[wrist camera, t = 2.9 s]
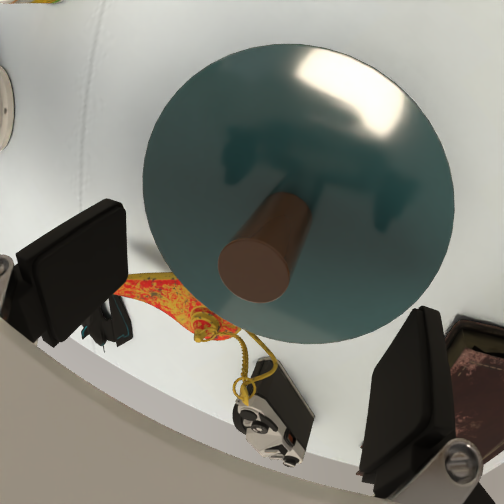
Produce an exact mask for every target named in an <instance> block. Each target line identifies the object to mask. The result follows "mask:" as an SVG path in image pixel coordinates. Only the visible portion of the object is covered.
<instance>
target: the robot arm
mask: <svg viewBox="0 0 504 504" xmlns="http://www.w3.org/2000/svg"><path fill="white" fill-rule="evenodd" d="M13 119H14V101H13V93H12V87H11V83H10V80H9V78H8V75H7V73H6V72H5V70H4V69H3V68H2V67H1V66H0V151H1V150H3V149H4V148H5V146H6V145H7V143H8V141H9V139H10V136H11V132H12V127H13ZM16 257H17V261H18V264H16V265H15V266H14V263H13V260H12V258H10V257H9V256H7V255H0V504H495V502H494V501H493V500H492V498H491V497H490V496H489V495H488V493H487V492H486V491H485V489H484V488H483V487H482V486H481V484H480V483H479V480H480V478H481V476H482V473H483V459H482V456H481V454H480V451H479V450H478V449H477V447H476V446H475V445H474V444H473V443H471V442H470V441H468V440H466V439H463V438H456V427H455V412H454V400H453V390H452V381H451V373H450V366H449V363H448V357H447V350H446V344H445V338H444V332H443V327H442V321H441V316H440V313H439V311H437V310H434V309H431V308H428V307H425V306H421V307H419V309H416V308H414V309H413V310H412V311H411V313H410V314H409V316H408V318H407V319H406V321H405V323H404V324H403V326H402V328H401V329H400V331H399V332H398V334H397V335H396V337H395V339H394V340H393V342H392V343H391V345H390V346H389V348H388V349H387V351H386V352H385V354H384V355H383V357H382V358H381V360H380V361H379V363H378V364H377V366H376V367H375V369H374V372H373V375H372V381H371V391H370V400H369V408H368V416H367V423H366V430H365V437H364V443H363V449H362V455H361V461H360V466H359V470H360V472H363V478H362V482H365V483H370V484H374V489H373V492H374V494H373V495H372V496H368V495H363V494H360V493H355V492H351V491H346V490H342V489H338V488H333V487H329V486H326V485H322V484H318V483H314V482H311V481H307V480H304V479H300V478H297V477H294V476H290V475H287V474H283V473H281V472H277V471H274V470H271V469H268V468H265V467H262V466H259V465H256V464H254V463H251V462H248V461H245V460H242V459H240V458H237V457H235V456H232V455H229V454H227V453H224V452H222V451H219V450H217V449H214V448H212V447H210V446H208V445H205V444H203V443H201V442H198V441H196V440H194V439H192V438H189V437H187V436H185V435H183V434H181V433H179V432H176V431H174V430H172V429H170V428H168V427H166V426H164V425H162V424H160V423H158V422H156V421H154V420H152V419H150V418H148V417H147V416H145V415H143V414H141V413H139V412H137V411H135V410H134V409H132V408H130V407H128V406H127V405H125V404H123V403H121V402H119V401H118V400H116V399H115V398H113V397H111V396H109V395H108V394H106V393H105V392H103V391H101V390H100V389H98V388H96V387H95V386H93V385H92V384H90V383H89V382H87V381H85V380H84V379H82V378H81V377H79V376H78V375H76V374H75V373H73V372H72V371H70V370H69V369H67V368H66V367H64V366H63V365H62V364H60V363H59V362H57V361H56V360H55V359H53V358H52V357H51V356H49V355H48V354H46V353H45V352H44V351H42V350H41V349H40V348H38V347H37V343H38V338H39V337H40V336H42V338H43V341H45V342H46V343H48V344H49V345H50V346H52V347H53V348H54V347H55V346H56V345H57V344H58V343H59V342H63V341H65V340H66V339H67V338H68V337H69V336H70V335H71V334H72V333H73V332H74V331H75V330H76V329H77V328H78V327H79V326H80V325H81V324H82V323H83V322H84V321H85V320H86V319H87V318H88V317H89V316H90V315H91V314H93V313H94V312H95V311H96V310H97V309H98V308H99V307H100V306H101V305H102V304H103V303H104V302H105V301H106V300H107V299H108V298H109V297H110V296H112V295H113V294H114V293H115V292H116V291H117V290H118V289H119V288H120V287H121V286H122V285H123V284H124V283H125V282H126V280H127V278H128V260H127V235H126V211H125V209H124V208H123V205H122V204H121V203H120V202H117V201H114V200H111V199H107V198H106V199H104V200H102V201H100V202H98V203H96V204H95V205H93V206H91V207H89V208H88V209H86V210H84V211H83V212H81V213H79V214H77V215H76V216H74V217H72V218H71V219H69V220H67V221H66V222H64V223H62V224H61V225H59V226H58V227H56V228H54V229H53V230H51V231H50V232H48V233H46V234H45V235H43V236H42V237H40V238H39V239H37V240H35V241H34V242H32V243H31V244H29V245H28V246H26V247H25V248H23V249H22V250H20V251H19V252H17V253H16Z"/></svg>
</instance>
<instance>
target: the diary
mask: <svg viewBox="0 0 504 504" xmlns="http://www.w3.org/2000/svg"><path fill="white" fill-rule="evenodd" d="M445 344H446V350H447V357H448V363H449V366H450V373H451V381H452V390H453V400H454V412H455V427H456V438H463V439H466V440H468V441H470V442H471V443H473V444H474V445H475V446H476V447H477V449H478V450H479V451H480V454H481V456H482V459H483V465H484V464H485V463H487V462H488V461H490V460H491V459H492V458H494V457H495V456H496V455H498V454H499V453H501V452H502V451H503V450H504V328H500V327H496V326H491V325H487V324H482V323H477V322H473V321H468V320H460V321H458V322H457V323H456V324H455V325H454V326H453V327H452V329H451V331H450V332H449V334H448V335H447V337H446V338H445ZM360 448H362V449H363V445H362V446H361V447H360ZM356 475H360V476H363V472H360V470H359V471H358V472H357V473H356Z"/></svg>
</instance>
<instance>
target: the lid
mask: <svg viewBox="0 0 504 504" xmlns="http://www.w3.org/2000/svg"><path fill="white" fill-rule="evenodd" d="M143 198H144V205H145V212H146V215H147V219H148V223H149V227H150V230H151V232H152V235H153V237H154V240H155V243H156V245H157V247H158V249H159V251H160V253H161V255H162V256H163V258H164V260H165V262H166V263H167V265H168V266H169V268H170V269H171V271H172V272H173V274H174V275H175V276H176V277H177V279H178V280H179V281H180V282H181V283H182V285H183V286H184V287H185V288H186V289H187V290H188V291H189V292H190V293H191V294H192V295H193V296H194V297H195V298H196V299H197V300H198V301H200V302H201V303H202V304H203V305H204V306H206V307H207V308H208V309H209V310H211V311H212V312H214V313H215V314H217V315H218V316H220V317H221V318H223V319H224V320H226V321H228V322H230V323H232V324H233V325H235V326H237V327H239V328H242V329H244V330H246V331H249V332H251V333H253V334H256V335H260V336H263V337H266V338H269V339H274V340H278V341H283V342H289V343H300V344H324V343H333V342H340V341H344V340H348V339H353V338H356V337H359V336H362V335H365V334H367V333H370V332H373V331H375V330H377V329H379V328H381V327H382V326H384V325H386V324H388V323H390V322H391V321H393V320H394V319H396V318H397V317H398V316H400V315H401V314H403V313H404V312H405V311H406V310H407V309H408V308H409V307H411V306H412V305H413V304H414V303H415V302H416V301H417V300H418V299H419V298H420V296H421V295H422V294H423V293H424V292H425V290H426V289H427V288H428V287H429V285H430V284H431V282H432V280H433V279H434V277H435V276H436V274H437V272H438V271H439V268H440V266H441V264H442V262H443V259H444V257H445V255H446V252H447V249H448V246H449V242H450V238H451V234H452V229H453V220H454V211H455V210H454V188H453V182H452V177H451V172H450V167H449V163H448V161H447V158H446V155H445V152H444V149H443V147H442V144H441V142H440V140H439V138H438V136H437V134H436V132H435V131H434V129H433V127H432V125H431V123H430V122H429V120H428V119H427V117H426V116H425V115H424V113H423V112H422V111H421V109H420V108H419V107H418V105H417V104H416V103H415V102H414V100H413V99H412V98H410V97H409V96H408V95H407V94H406V93H405V92H404V91H403V90H402V89H401V88H400V87H399V86H398V85H397V84H396V83H395V82H393V81H392V80H391V79H389V78H388V77H386V76H385V75H384V74H382V73H381V72H379V71H378V70H376V69H375V68H373V67H371V66H370V65H368V64H366V63H364V62H362V61H360V60H358V59H356V58H353V57H351V56H349V55H346V54H343V53H340V52H337V51H333V50H330V49H327V48H322V47H316V46H310V45H303V44H272V45H266V46H259V47H253V48H249V49H246V50H243V51H239V52H236V53H233V54H230V55H228V56H226V57H224V58H222V59H220V60H218V61H216V62H214V63H212V64H210V65H208V66H207V67H205V68H204V69H203V70H201V71H200V72H198V73H197V74H195V75H194V76H193V77H191V78H190V79H189V80H188V81H187V82H186V83H185V84H184V85H183V86H182V87H181V88H180V89H179V90H178V91H177V92H176V93H175V95H174V96H173V97H172V98H171V100H170V101H169V102H168V104H167V105H166V106H165V108H164V110H163V111H162V113H161V115H160V116H159V118H158V120H157V122H156V124H155V126H154V129H153V131H152V134H151V136H150V139H149V142H148V146H147V150H146V154H145V158H144V167H143Z"/></svg>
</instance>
